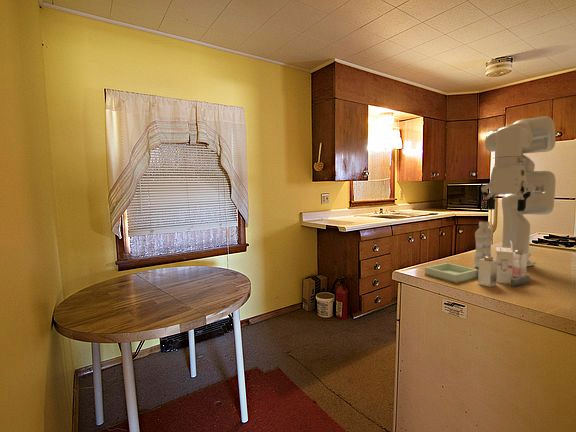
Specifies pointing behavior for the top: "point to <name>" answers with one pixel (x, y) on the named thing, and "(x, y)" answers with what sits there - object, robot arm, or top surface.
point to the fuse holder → (489, 270)
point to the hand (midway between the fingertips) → (505, 210)
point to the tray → (451, 272)
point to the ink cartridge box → (504, 264)
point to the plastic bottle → (482, 242)
